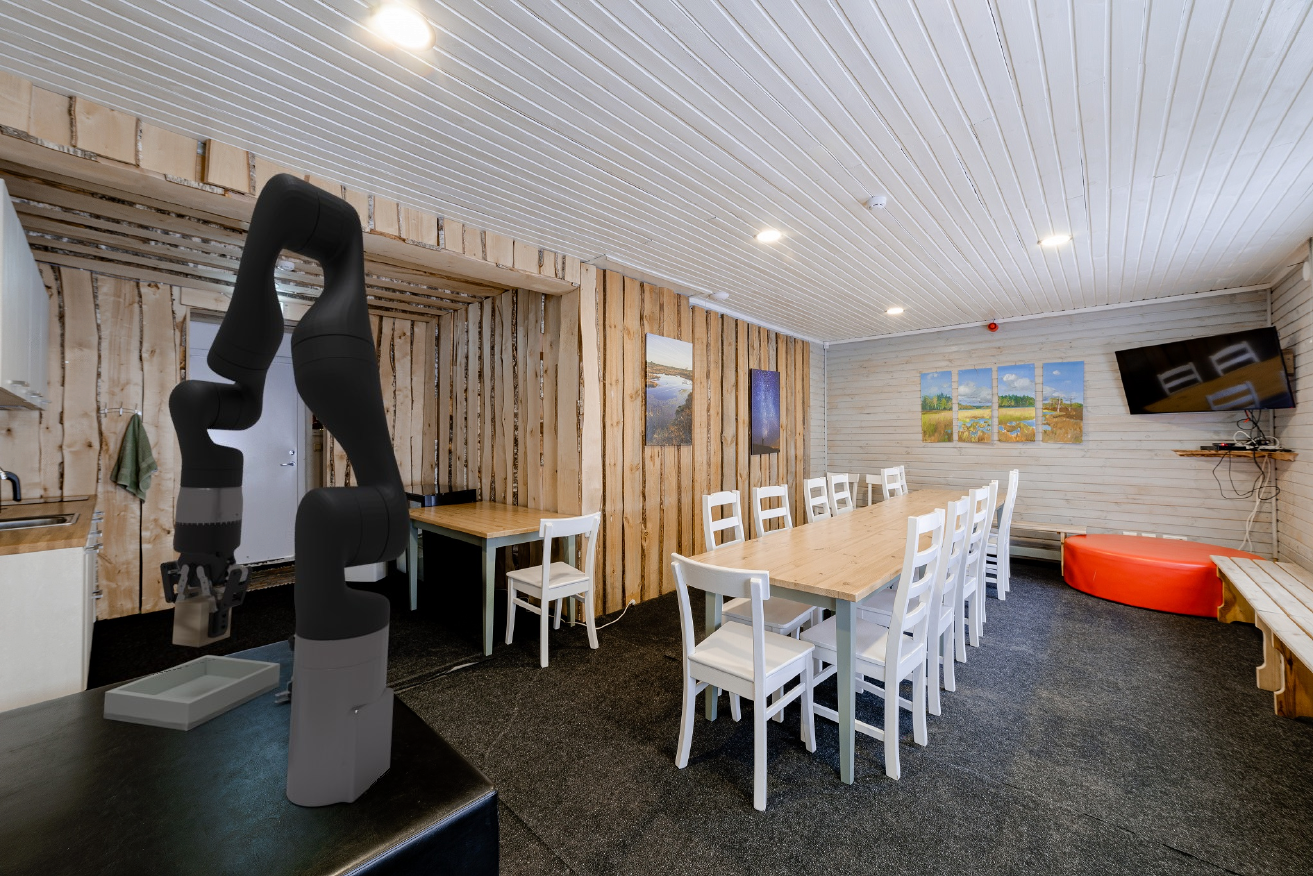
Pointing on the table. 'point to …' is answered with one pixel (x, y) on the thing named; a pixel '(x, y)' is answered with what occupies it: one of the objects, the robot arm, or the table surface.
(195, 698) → the tray
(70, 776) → the table surface
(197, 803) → the table surface
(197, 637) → the pine block
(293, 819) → the table surface
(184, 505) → the robot arm
